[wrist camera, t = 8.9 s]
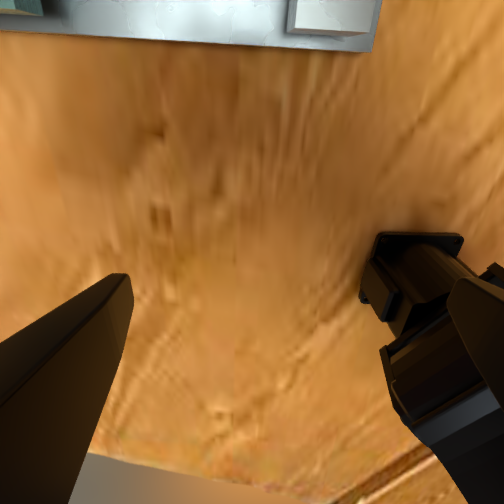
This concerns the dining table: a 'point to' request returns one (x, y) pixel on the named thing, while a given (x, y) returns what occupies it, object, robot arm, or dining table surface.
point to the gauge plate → (212, 22)
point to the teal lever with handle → (21, 7)
